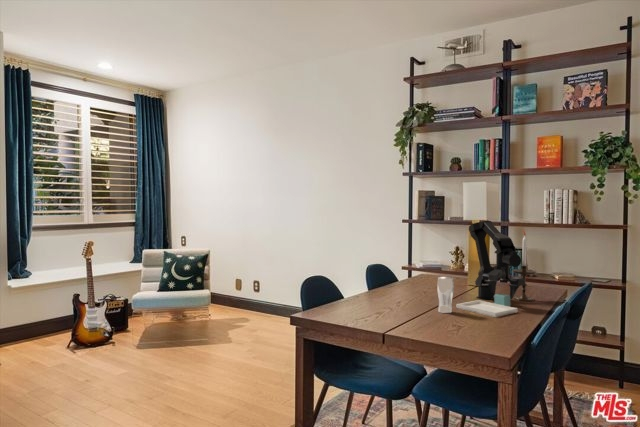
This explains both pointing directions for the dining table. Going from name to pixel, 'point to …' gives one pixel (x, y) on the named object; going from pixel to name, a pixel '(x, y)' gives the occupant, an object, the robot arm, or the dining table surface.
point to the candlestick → (524, 272)
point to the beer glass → (445, 294)
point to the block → (502, 299)
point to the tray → (487, 308)
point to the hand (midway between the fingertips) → (502, 297)
